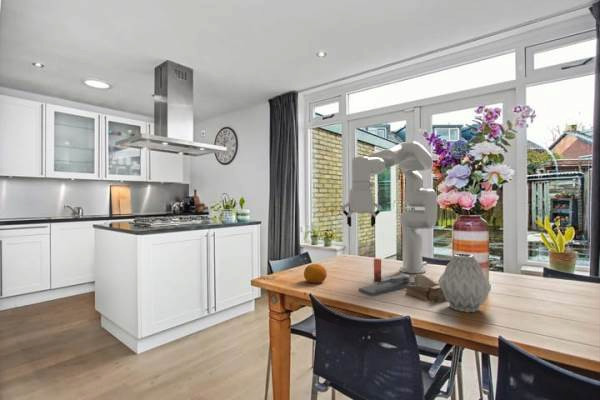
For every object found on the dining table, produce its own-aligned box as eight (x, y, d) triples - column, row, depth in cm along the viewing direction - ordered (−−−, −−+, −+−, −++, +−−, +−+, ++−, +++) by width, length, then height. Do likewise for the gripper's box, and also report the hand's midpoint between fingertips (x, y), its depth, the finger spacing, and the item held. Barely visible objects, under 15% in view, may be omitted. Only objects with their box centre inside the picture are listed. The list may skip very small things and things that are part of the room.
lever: (403, 277, 143) (403, 253, 143) (414, 279, 139) (413, 255, 139) (371, 284, 132) (370, 259, 132) (381, 287, 127) (381, 261, 127)
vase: (428, 303, 114) (427, 252, 114) (465, 298, 119) (464, 249, 119) (463, 320, 99) (462, 261, 99) (504, 314, 103) (503, 257, 103)
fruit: (327, 285, 140) (327, 267, 140) (303, 285, 140) (303, 267, 140) (326, 278, 151) (325, 262, 151) (304, 279, 151) (303, 262, 151)
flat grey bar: (400, 280, 145) (400, 275, 145) (415, 284, 138) (415, 279, 138) (358, 291, 130) (358, 285, 130) (373, 295, 124) (373, 289, 124)
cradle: (426, 288, 133) (426, 276, 133) (454, 295, 123) (454, 283, 122) (406, 293, 126) (406, 281, 126) (435, 302, 115) (434, 288, 115)
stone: (436, 294, 128) (445, 278, 123) (434, 306, 123) (443, 290, 118) (411, 283, 132) (418, 266, 126) (407, 294, 127) (415, 278, 121)
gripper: (379, 186, 138) (379, 225, 138) (339, 186, 138) (339, 225, 138) (383, 185, 130) (383, 226, 131) (341, 185, 131) (341, 227, 131)
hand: (361, 226), depth 134 cm, fingers open, 9 cm apart
